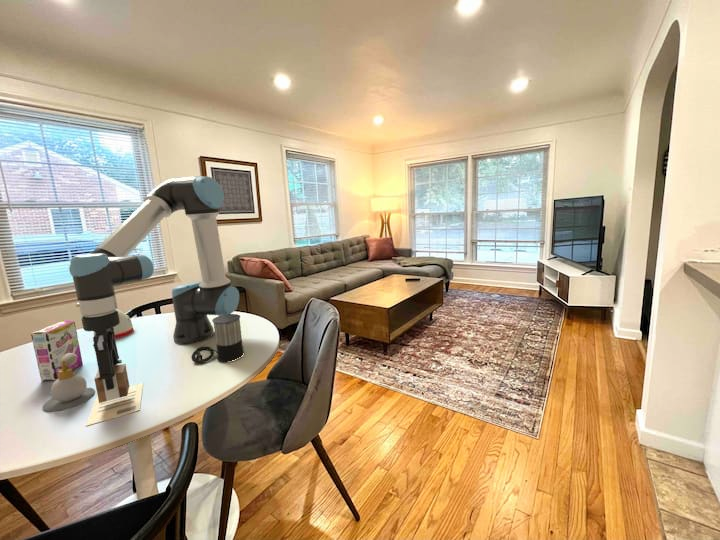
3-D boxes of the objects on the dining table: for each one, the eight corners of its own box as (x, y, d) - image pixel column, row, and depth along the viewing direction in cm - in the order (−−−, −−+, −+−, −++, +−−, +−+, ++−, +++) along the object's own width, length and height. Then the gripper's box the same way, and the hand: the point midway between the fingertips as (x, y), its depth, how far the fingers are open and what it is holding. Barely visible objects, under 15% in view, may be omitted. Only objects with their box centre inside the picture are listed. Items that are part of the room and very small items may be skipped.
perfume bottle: (56, 410, 84) (46, 368, 81) (49, 397, 90) (40, 359, 87) (91, 396, 89) (83, 357, 87) (83, 385, 95) (75, 349, 93)
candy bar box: (57, 380, 100) (46, 332, 97) (40, 381, 100) (28, 333, 97) (84, 363, 111) (75, 320, 108) (69, 365, 111) (59, 321, 108)
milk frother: (249, 356, 113) (245, 317, 110) (203, 373, 101) (197, 330, 99) (232, 345, 122) (227, 309, 120) (188, 360, 111) (182, 320, 108)
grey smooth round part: (98, 384, 96) (97, 383, 96) (90, 402, 87) (90, 401, 87) (49, 396, 91) (49, 395, 91) (36, 417, 82) (36, 415, 82)
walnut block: (129, 385, 90) (125, 363, 89) (127, 395, 85) (123, 372, 84) (102, 392, 87) (98, 369, 86) (99, 403, 82) (94, 378, 81)
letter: (143, 383, 96) (143, 383, 96) (139, 410, 83) (139, 409, 83) (97, 395, 91) (97, 394, 91) (85, 426, 77) (85, 425, 77)
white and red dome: (130, 326, 149) (124, 295, 146) (136, 333, 139) (131, 300, 136) (92, 335, 139) (85, 302, 136) (96, 343, 129) (89, 308, 127)
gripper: (88, 306, 88) (103, 382, 92) (71, 326, 72) (90, 416, 76) (121, 302, 92) (134, 374, 96) (112, 319, 76) (128, 405, 80)
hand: (115, 392), depth 86 cm, fingers closed on walnut block, 6 cm apart
